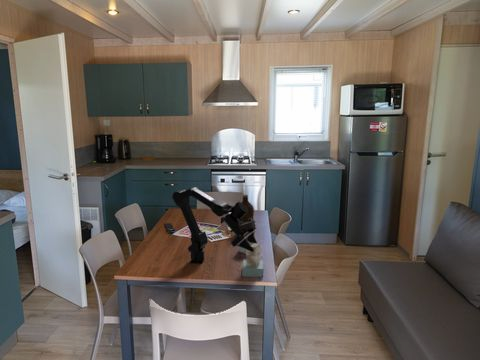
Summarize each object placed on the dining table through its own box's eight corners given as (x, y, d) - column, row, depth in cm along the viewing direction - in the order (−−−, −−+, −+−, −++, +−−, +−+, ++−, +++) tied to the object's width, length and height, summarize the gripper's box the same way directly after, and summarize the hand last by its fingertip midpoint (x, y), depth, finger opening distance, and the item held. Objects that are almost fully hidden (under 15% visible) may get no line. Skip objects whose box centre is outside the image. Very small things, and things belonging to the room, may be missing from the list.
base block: (242, 276, 163) (242, 268, 162) (243, 267, 173) (243, 259, 172) (263, 276, 162) (263, 268, 161) (263, 267, 172) (263, 260, 171)
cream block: (246, 265, 165) (246, 245, 163) (250, 261, 170) (250, 242, 168) (255, 267, 163) (255, 247, 161) (259, 263, 168) (259, 243, 166)
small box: (246, 247, 198) (246, 229, 196) (254, 249, 195) (254, 231, 193) (237, 251, 192) (237, 233, 190) (245, 253, 189) (245, 235, 187)
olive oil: (244, 236, 216) (244, 198, 211) (234, 232, 224) (233, 195, 219) (257, 232, 222) (257, 195, 218) (246, 228, 231) (246, 192, 226)
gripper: (236, 220, 155) (259, 246, 153) (252, 209, 172) (273, 233, 169) (221, 234, 160) (243, 260, 157) (238, 222, 177) (258, 245, 174)
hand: (255, 249), depth 164 cm, fingers open, 6 cm apart
